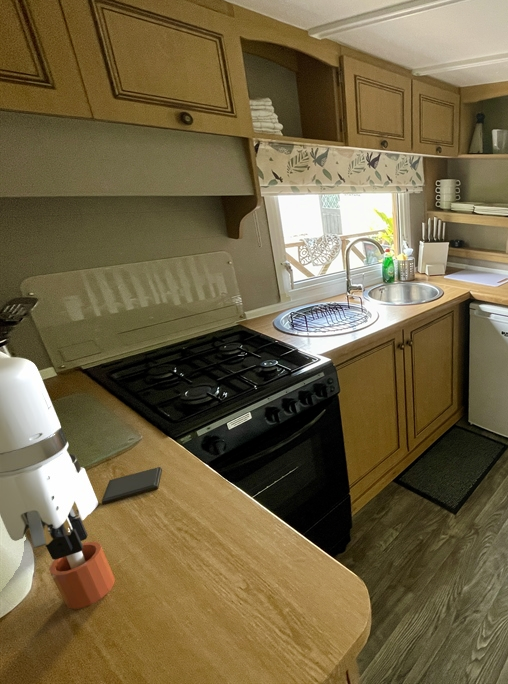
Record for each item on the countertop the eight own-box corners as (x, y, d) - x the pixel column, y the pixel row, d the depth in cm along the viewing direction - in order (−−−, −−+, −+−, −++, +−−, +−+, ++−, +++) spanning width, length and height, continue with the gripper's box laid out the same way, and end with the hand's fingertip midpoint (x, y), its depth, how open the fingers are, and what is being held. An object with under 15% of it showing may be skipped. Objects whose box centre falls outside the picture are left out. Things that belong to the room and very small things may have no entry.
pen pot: (62, 618, 56) (43, 581, 53) (73, 586, 60) (56, 551, 58) (111, 599, 59) (95, 563, 56) (119, 570, 63) (104, 536, 60)
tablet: (102, 505, 76) (101, 501, 75) (110, 483, 81) (109, 479, 81) (158, 488, 80) (157, 485, 80) (162, 469, 86) (161, 465, 86)
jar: (24, 527, 70) (-2, 476, 66) (77, 496, 78) (57, 449, 73) (56, 540, 68) (32, 488, 64) (107, 506, 75) (88, 459, 71)
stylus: (79, 596, 58) (49, 525, 53) (84, 587, 59) (55, 517, 54) (93, 592, 59) (64, 522, 54) (97, 583, 60) (69, 514, 55)
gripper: (10, 425, 54) (54, 521, 60) (-53, 497, 41) (11, 607, 48) (81, 412, 58) (115, 503, 64) (42, 474, 45) (90, 579, 52)
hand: (71, 547), depth 56 cm, fingers closed on stylus, 1 cm apart
